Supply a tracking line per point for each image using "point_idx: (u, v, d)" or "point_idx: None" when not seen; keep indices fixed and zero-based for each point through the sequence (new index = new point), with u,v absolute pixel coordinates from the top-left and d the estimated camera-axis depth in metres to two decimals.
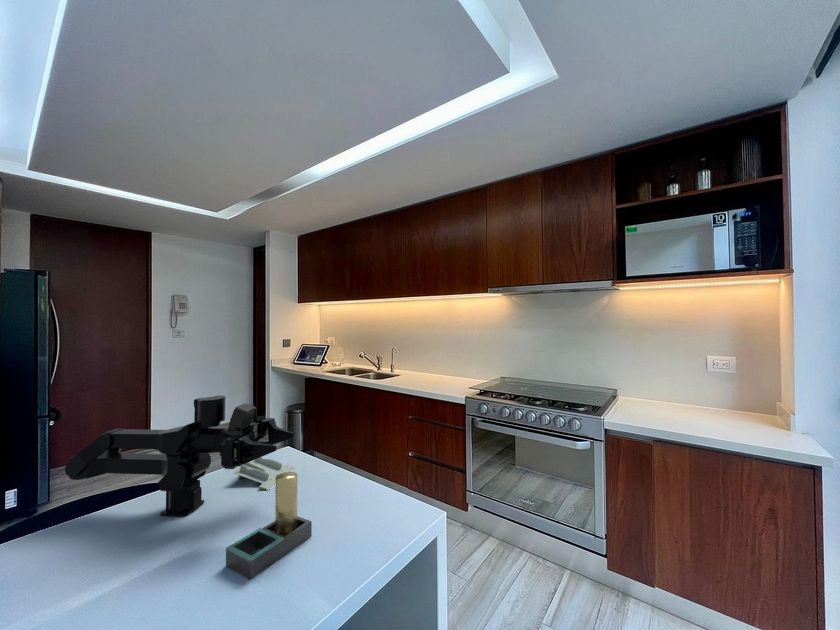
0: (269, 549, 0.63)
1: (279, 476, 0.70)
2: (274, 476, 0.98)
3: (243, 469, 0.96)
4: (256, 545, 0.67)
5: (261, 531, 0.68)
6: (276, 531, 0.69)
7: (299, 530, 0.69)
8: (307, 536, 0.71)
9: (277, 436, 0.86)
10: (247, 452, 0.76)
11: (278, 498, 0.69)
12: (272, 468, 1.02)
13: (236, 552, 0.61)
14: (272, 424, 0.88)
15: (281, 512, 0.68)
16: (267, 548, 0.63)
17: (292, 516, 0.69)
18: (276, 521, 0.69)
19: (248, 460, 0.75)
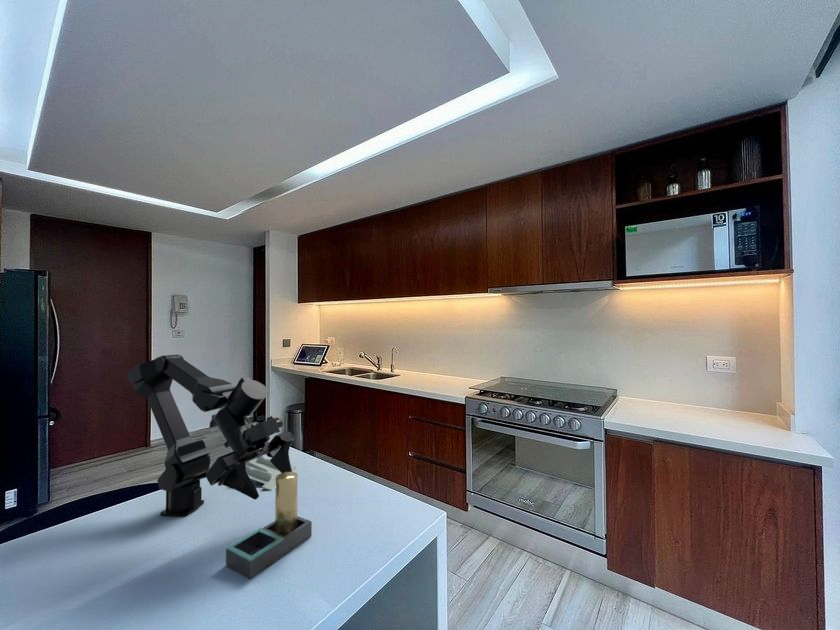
0: (269, 549, 0.63)
1: (279, 476, 0.70)
2: None
3: None
4: (256, 545, 0.67)
5: (261, 531, 0.68)
6: (276, 531, 0.69)
7: (299, 530, 0.69)
8: (307, 536, 0.71)
9: (280, 463, 0.77)
10: (235, 477, 0.68)
11: (278, 498, 0.69)
12: (274, 468, 1.02)
13: (236, 552, 0.61)
14: (285, 448, 0.78)
15: (281, 512, 0.68)
16: (267, 548, 0.63)
17: (292, 516, 0.69)
18: (276, 521, 0.69)
19: (230, 485, 0.68)
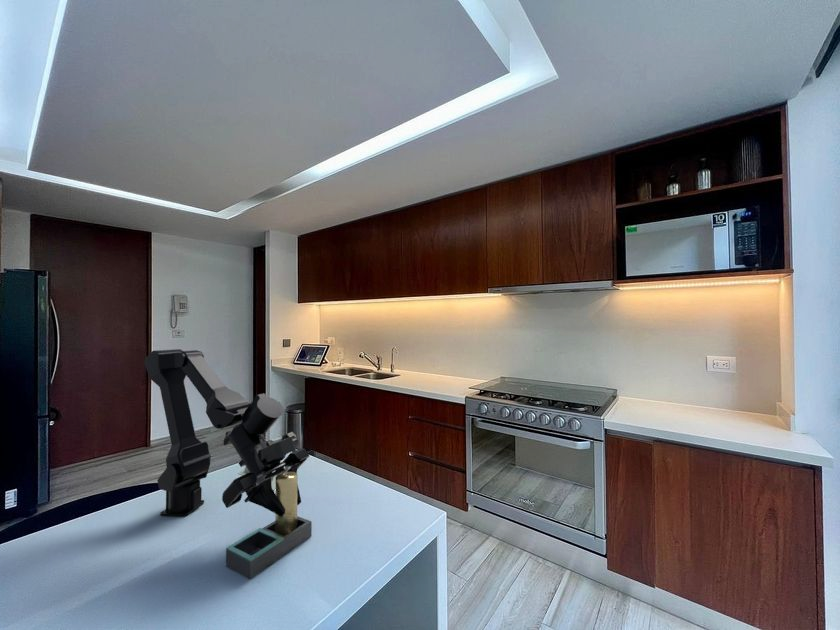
0: (269, 549, 0.63)
1: (279, 476, 0.70)
2: None
3: None
4: (256, 545, 0.67)
5: (261, 531, 0.68)
6: (276, 531, 0.69)
7: (299, 530, 0.69)
8: (307, 536, 0.71)
9: None
10: (261, 493, 0.69)
11: (278, 498, 0.69)
12: None
13: (236, 552, 0.61)
14: (293, 470, 0.74)
15: None
16: (267, 548, 0.63)
17: (292, 516, 0.69)
18: (276, 521, 0.69)
19: (256, 502, 0.68)
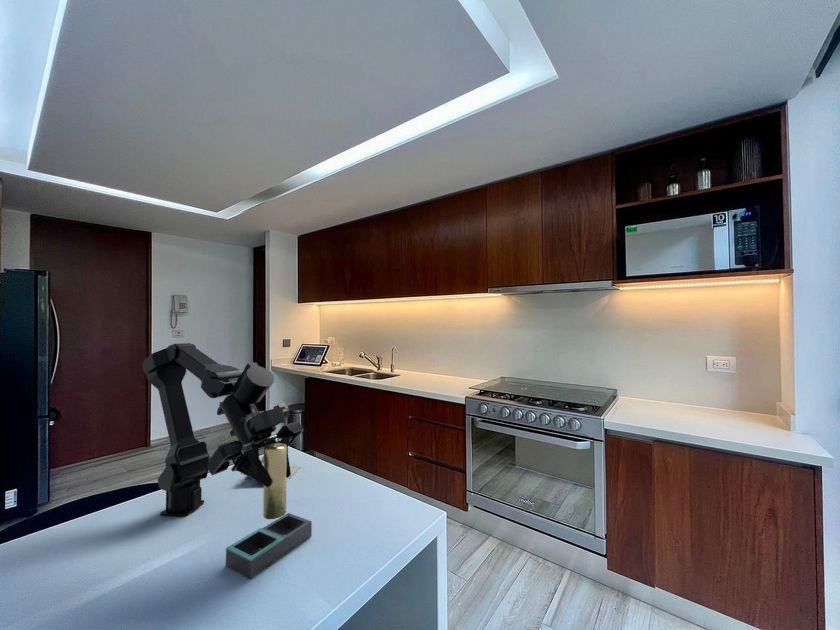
0: (269, 549, 0.63)
1: (268, 447, 0.68)
2: None
3: None
4: (256, 545, 0.67)
5: (261, 531, 0.68)
6: (264, 503, 0.66)
7: (299, 530, 0.69)
8: (307, 536, 0.71)
9: None
10: (248, 463, 0.66)
11: (265, 469, 0.66)
12: None
13: (236, 552, 0.61)
14: (284, 442, 0.72)
15: None
16: (267, 548, 0.63)
17: (280, 488, 0.67)
18: (264, 492, 0.66)
19: (243, 471, 0.66)
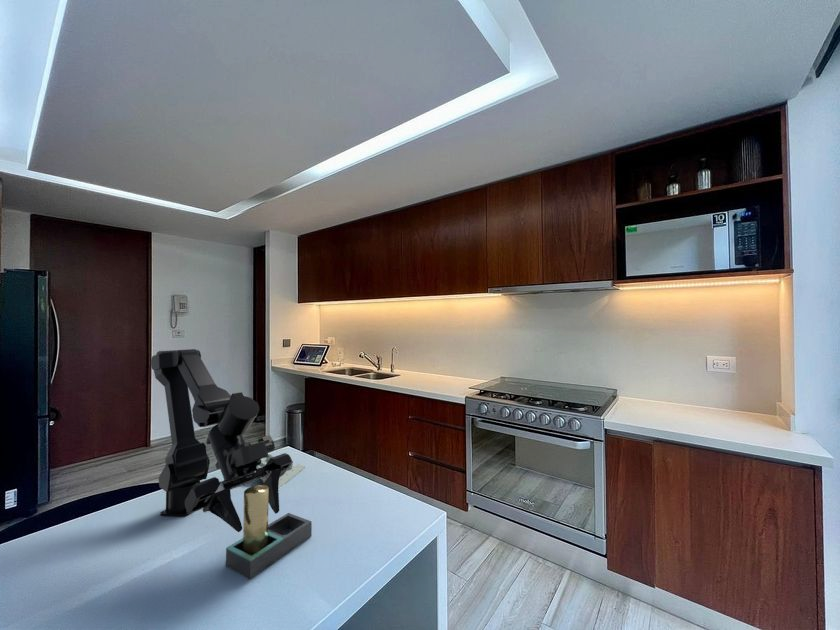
0: (269, 549, 0.63)
1: (249, 489, 0.65)
2: (284, 476, 0.98)
3: None
4: None
5: None
6: (243, 550, 0.63)
7: (299, 530, 0.69)
8: (307, 536, 0.71)
9: None
10: (220, 504, 0.62)
11: (244, 514, 0.63)
12: None
13: (236, 552, 0.61)
14: (275, 475, 0.69)
15: (247, 530, 0.62)
16: (267, 548, 0.63)
17: (259, 536, 0.63)
18: (243, 539, 0.63)
19: (215, 512, 0.62)
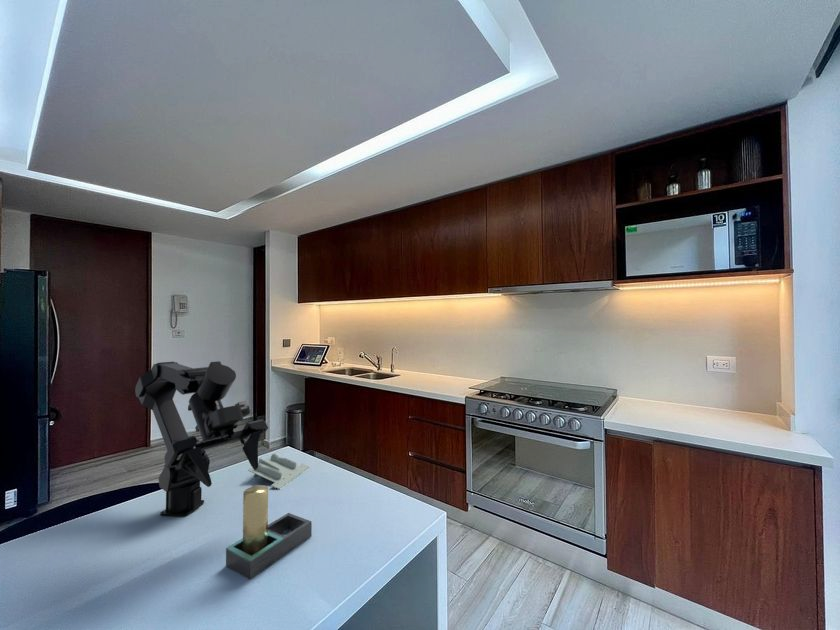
0: (269, 549, 0.63)
1: (248, 490, 0.65)
2: (287, 475, 0.99)
3: (258, 467, 0.98)
4: None
5: None
6: (243, 550, 0.63)
7: (299, 530, 0.69)
8: (307, 536, 0.71)
9: (249, 452, 0.75)
10: (192, 462, 0.67)
11: (244, 514, 0.63)
12: (287, 467, 1.03)
13: (236, 552, 0.61)
14: (255, 436, 0.76)
15: (247, 531, 0.62)
16: (267, 548, 0.63)
17: (259, 536, 0.63)
18: (243, 539, 0.63)
19: (187, 470, 0.67)
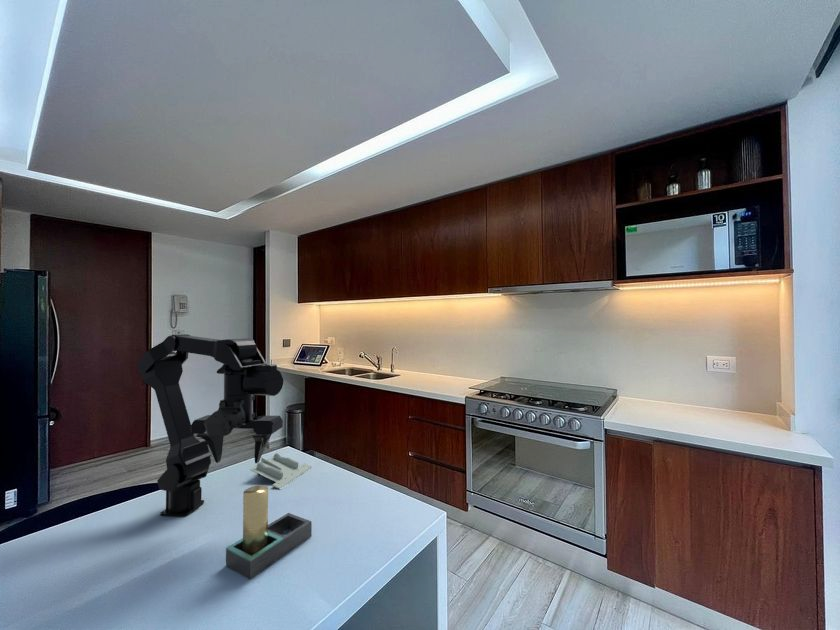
0: (269, 549, 0.63)
1: (248, 490, 0.65)
2: (289, 475, 0.99)
3: (260, 466, 0.98)
4: None
5: None
6: (243, 550, 0.63)
7: (299, 530, 0.69)
8: (307, 536, 0.71)
9: None
10: None
11: (244, 514, 0.63)
12: (289, 467, 1.03)
13: (236, 552, 0.61)
14: (256, 438, 0.75)
15: (247, 531, 0.62)
16: (267, 548, 0.63)
17: (259, 536, 0.63)
18: (243, 539, 0.63)
19: None
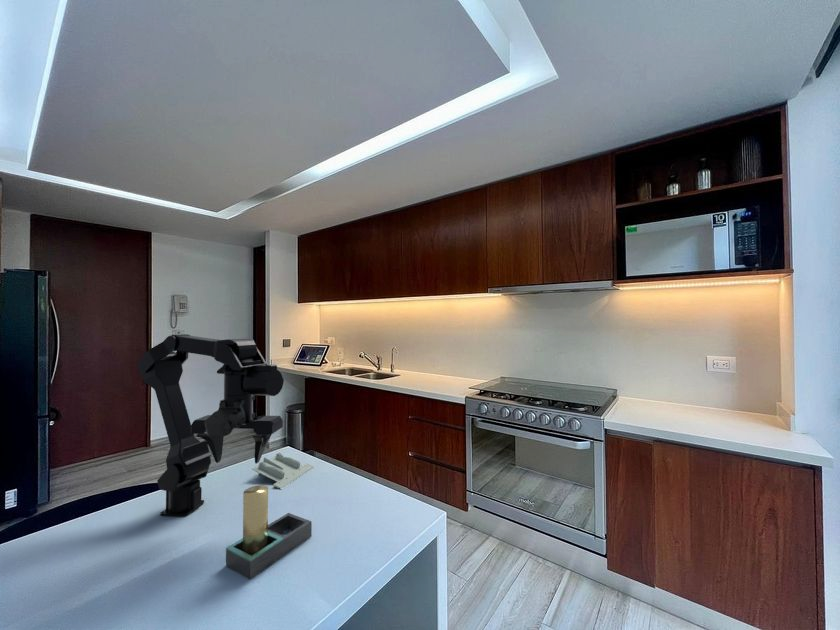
0: (269, 549, 0.63)
1: (248, 490, 0.65)
2: (290, 475, 0.99)
3: (261, 466, 0.98)
4: None
5: None
6: (243, 550, 0.63)
7: (299, 530, 0.69)
8: (307, 536, 0.71)
9: None
10: None
11: (244, 514, 0.63)
12: (291, 466, 1.04)
13: (236, 552, 0.61)
14: (256, 438, 0.75)
15: (247, 531, 0.62)
16: (267, 548, 0.63)
17: (259, 536, 0.63)
18: (243, 539, 0.63)
19: None
